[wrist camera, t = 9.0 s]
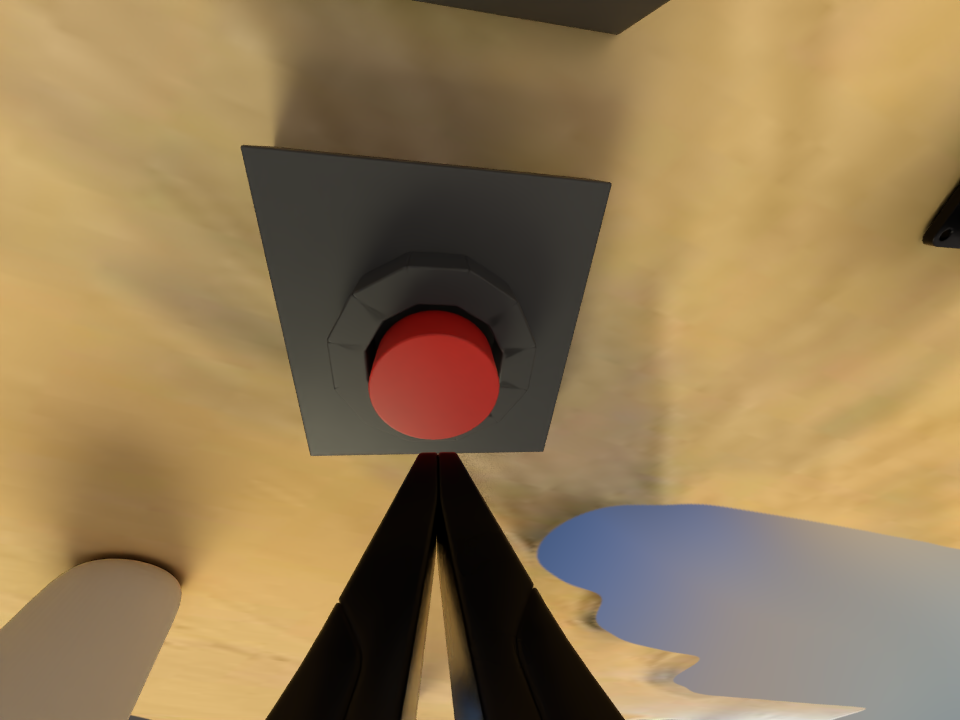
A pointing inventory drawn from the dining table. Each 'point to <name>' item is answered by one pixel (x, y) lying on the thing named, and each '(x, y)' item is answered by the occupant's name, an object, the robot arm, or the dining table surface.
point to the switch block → (421, 282)
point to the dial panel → (566, 11)
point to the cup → (86, 642)
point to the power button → (433, 376)
